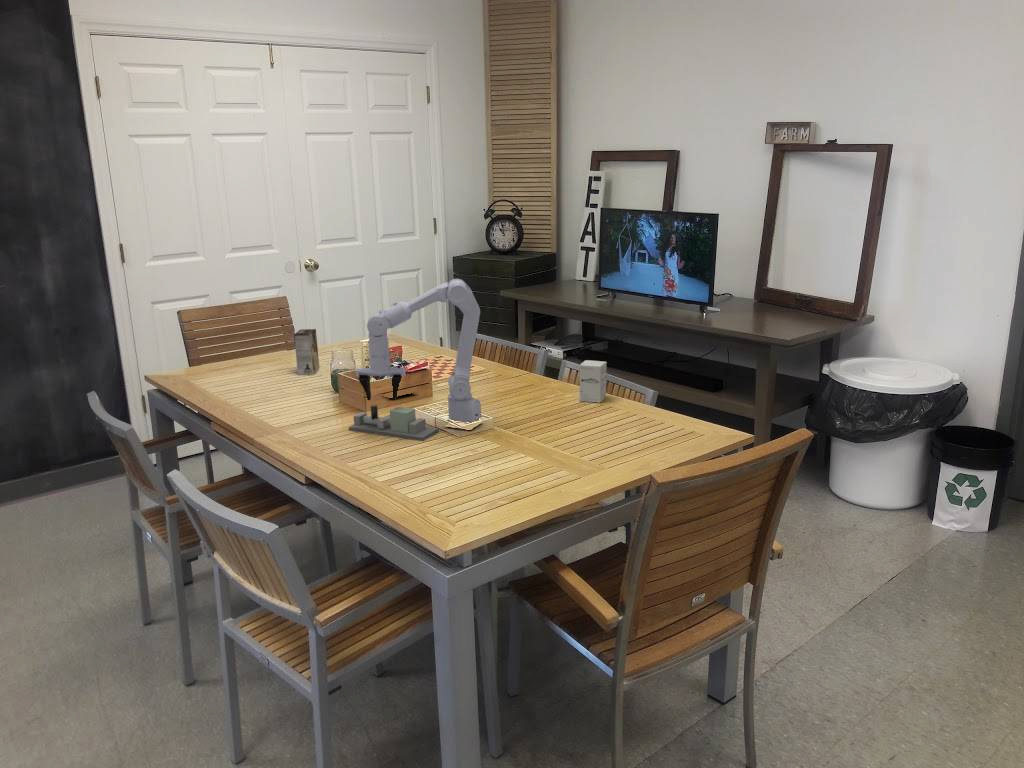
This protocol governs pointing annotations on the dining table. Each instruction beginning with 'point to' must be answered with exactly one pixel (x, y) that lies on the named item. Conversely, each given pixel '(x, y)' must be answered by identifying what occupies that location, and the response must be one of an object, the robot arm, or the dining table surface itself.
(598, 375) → the supplement box
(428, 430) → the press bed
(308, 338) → the coffee box
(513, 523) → the dining table surface
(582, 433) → the dining table surface
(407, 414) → the block
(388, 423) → the ram
